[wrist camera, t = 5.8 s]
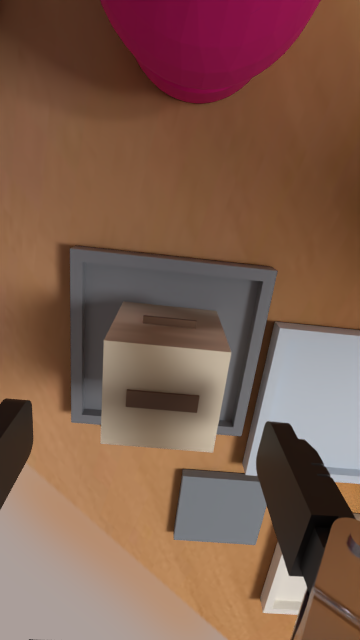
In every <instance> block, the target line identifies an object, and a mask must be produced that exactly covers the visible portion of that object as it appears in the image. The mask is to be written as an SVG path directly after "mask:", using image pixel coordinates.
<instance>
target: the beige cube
mask: <svg viewBox="0 0 360 640" xmlns="http://www.w3.org/2000/svg"><path fill="white" fill-rule="evenodd" d="M230 358H231V350H230V347H229V344H228V341H227V339H226V336H225V333H224V330H223V327H222V325H221V322H220V319H219V316H218V314H217V311H212V310H202V309H193V308H183V307H173V306H163V305H153V304H143V303H133V302H124V301H123V303H122V305H121V307H120V309H119V311H118V313H117V315H116V317H115V319H114V321H113V323H112V325H111V327H110V329H109V331H108V333H107V335H106V337H105V339H104V349H103V382H102V414H101V444H112V445H125V446H138V447H150V448H163V449H175V450H188V451H201V452H213V450H214V444H215V439H216V433H217V428H218V423H219V417H220V412H221V406H222V401H223V396H224V390H225V385H226V379H227V374H228V369H229V363H230Z"/></svg>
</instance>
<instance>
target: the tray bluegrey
mask: <svg viewBox="0 0 360 640" xmlns="http://www.w3.org/2000/svg"><path fill="white" fill-rule="evenodd" d="M267 421H271V422H283V423H289V424H290V425H291V426H292V428H293V430H294V432H295V434H296V435H297V437H298V439H305V440H306V441H307V442H308V443H309V444H310V445H311V446H312V447H313V448H314V449H315V450H316V451H317V452H318V454H319V456H320V458H321V459H322V461H323V463H324V466H325V467H326V468H327V470H328V471H329V473H330V477H331V478H333V480H334V482H344V483H357V484H360V330H355V329H345V328H335V327H325V326H315V325H305V324H295V323H285V322H275V323H274V327H273V331H272V336H271V340H270V344H269V349H268V353H267V358H266V362H265V366H264V371H263V375H262V379H261V384H260V388H259V393H258V397H257V401H256V406H255V410H254V414H253V419H252V423H251V428H250V432H249V436H248V441H247V445H246V449H245V454H244V458H243V467H244V471H245V475H252V476H257V471H256V456H257V452H258V448H259V444H260V441H261V437H262V433H263V429H264V426H265V423H266V422H267Z"/></svg>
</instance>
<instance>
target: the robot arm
mask: <svg viewBox="0 0 360 640" xmlns="http://www.w3.org/2000/svg"><path fill="white" fill-rule="evenodd" d="M32 445H33V420H32V404H31V402H30V401H29V400H17V399H4V400H3V401H2V402H1V404H0V509H1V507H2V506H3V504H4V502H5V500H6V498H7V496H8V494H9V493H10V491H11V489H12V487H13V485H14V483H15V482H16V480H17V478H18V476H19V474H20V472H21V470H22V469H23V467H24V465H25V463H26V461H27V459H28V457H29V455H30V453H31V449H32ZM256 471H257V476H258V479H259V482H260V485H261V488H262V492H263V495H264V498H265V501H266V504H267V508H268V511H269V514H270V517H271V520H272V523H273V527H274V530H275V533H276V536H277V539H278V543H279V546H280V549H281V552H282V555H283V559H284V562H285V565H286V568H287V571H288V575H289V576H298V577H304V580H305V583H306V586H307V589H306V591H305V594H304V597H303V600H302V603H301V607H300V610H299V613H298V616H297V619H296V623H295V626H294V629H293V632H292V635H291V639H290V640H360V521H359V520H356V518H355V516H354V515H353V513H352V511H351V510H350V508H349V506H348V504H347V503H346V501H345V499H344V497H343V496H342V494H341V492H340V490H339V489H338V487H337V485H336V484H335V482H334V480H333V478H331V477H330V473H329V471H328V470H327V468H326V467H325V466H324V463H323V461H322V459H321V458H320V456H319V454H318V452H317V451H316V450H315V449H314V448H313V447H312V446H311V445H310V444H309V443H308V442H307V441H306V440H305V439H298V437H297V435H296V434H295V432H294V430H293V428H292V426H291V425H290V424H289V423H283V422H271V421H267V422H266V423H265V426H264V429H263V433H262V437H261V441H260V444H259V448H258V452H257V456H256ZM29 640H31V639H29Z"/></svg>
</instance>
